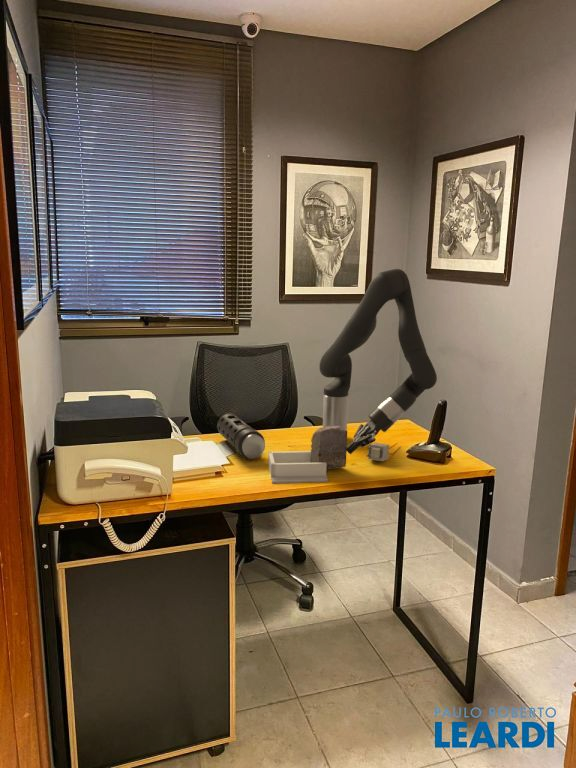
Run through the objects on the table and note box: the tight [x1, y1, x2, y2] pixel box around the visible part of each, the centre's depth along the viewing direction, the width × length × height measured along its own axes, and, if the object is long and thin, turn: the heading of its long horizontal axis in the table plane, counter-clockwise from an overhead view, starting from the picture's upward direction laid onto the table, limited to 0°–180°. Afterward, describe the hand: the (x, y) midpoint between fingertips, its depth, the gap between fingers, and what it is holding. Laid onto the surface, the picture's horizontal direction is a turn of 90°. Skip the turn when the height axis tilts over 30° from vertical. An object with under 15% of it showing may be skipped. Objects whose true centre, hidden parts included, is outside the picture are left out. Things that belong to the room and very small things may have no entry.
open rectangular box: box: [267, 450, 329, 484], centre depth 181 cm, size 16×17×4 cm
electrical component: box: [366, 442, 400, 462], centre depth 202 cm, size 24×6×5 cm, turn 154°
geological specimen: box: [310, 426, 348, 471], centre depth 183 cm, size 11×6×15 cm, turn 119°
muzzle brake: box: [216, 413, 266, 460], centre depth 202 cm, size 10×28×10 cm, turn 23°
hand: (347, 451), depth 184 cm, fingers closed
